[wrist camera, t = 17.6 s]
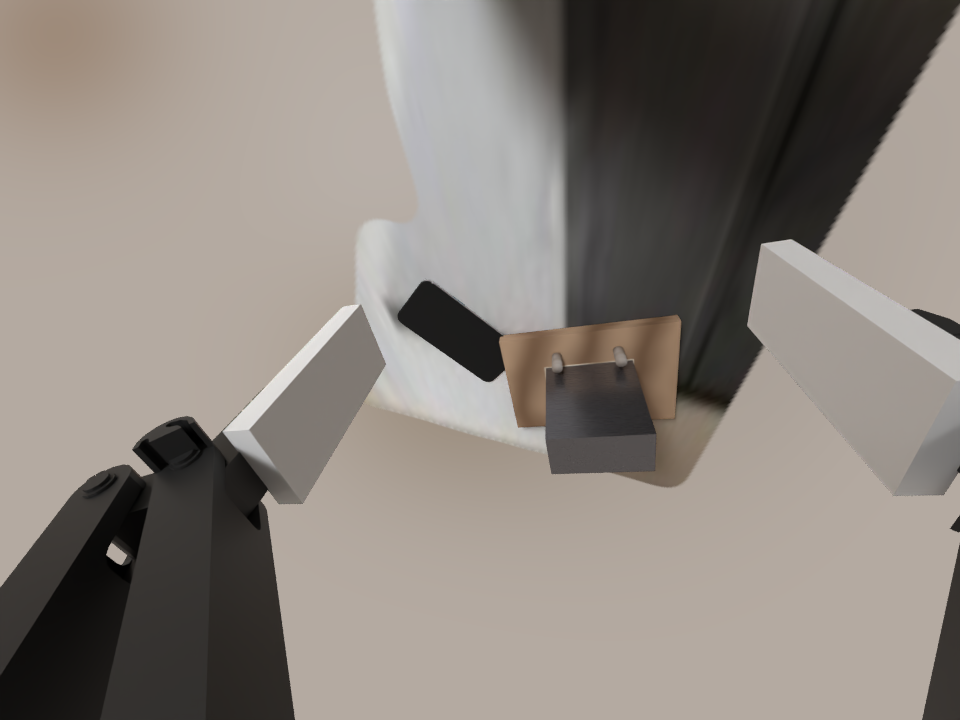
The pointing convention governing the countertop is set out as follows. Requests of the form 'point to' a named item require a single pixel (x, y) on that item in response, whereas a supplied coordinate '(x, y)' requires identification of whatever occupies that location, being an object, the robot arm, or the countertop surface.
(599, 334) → the dock
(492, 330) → the smartphone
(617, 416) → the block
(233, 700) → the robot arm
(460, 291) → the countertop surface
